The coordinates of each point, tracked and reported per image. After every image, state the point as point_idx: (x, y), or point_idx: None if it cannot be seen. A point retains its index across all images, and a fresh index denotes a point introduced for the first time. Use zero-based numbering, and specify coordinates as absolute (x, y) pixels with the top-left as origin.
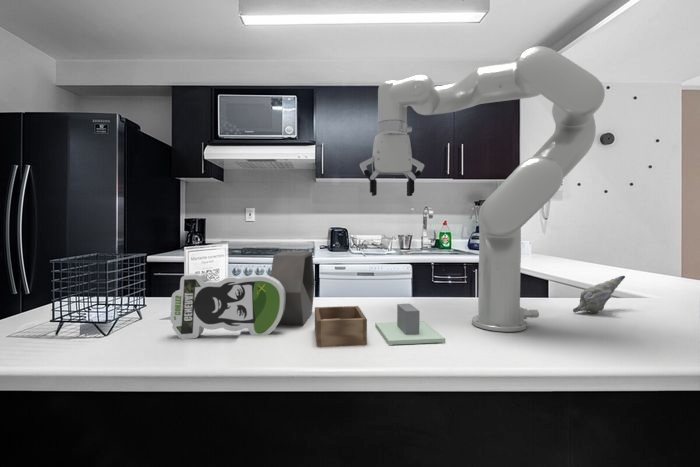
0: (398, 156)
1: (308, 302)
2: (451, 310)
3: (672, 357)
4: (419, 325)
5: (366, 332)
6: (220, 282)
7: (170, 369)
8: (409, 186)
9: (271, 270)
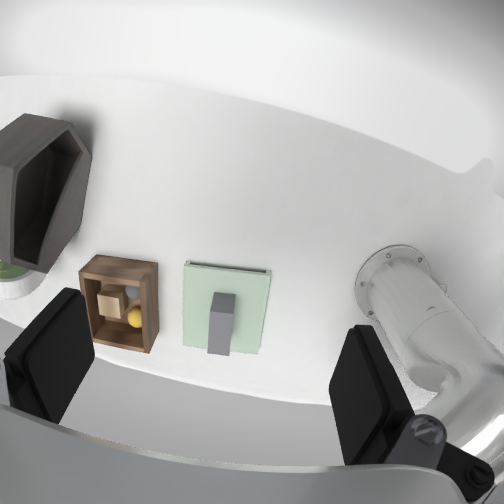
0: None
1: (69, 195)
2: (387, 168)
3: (436, 392)
4: (250, 298)
5: (153, 342)
6: None
7: (5, 319)
8: (341, 428)
9: None
